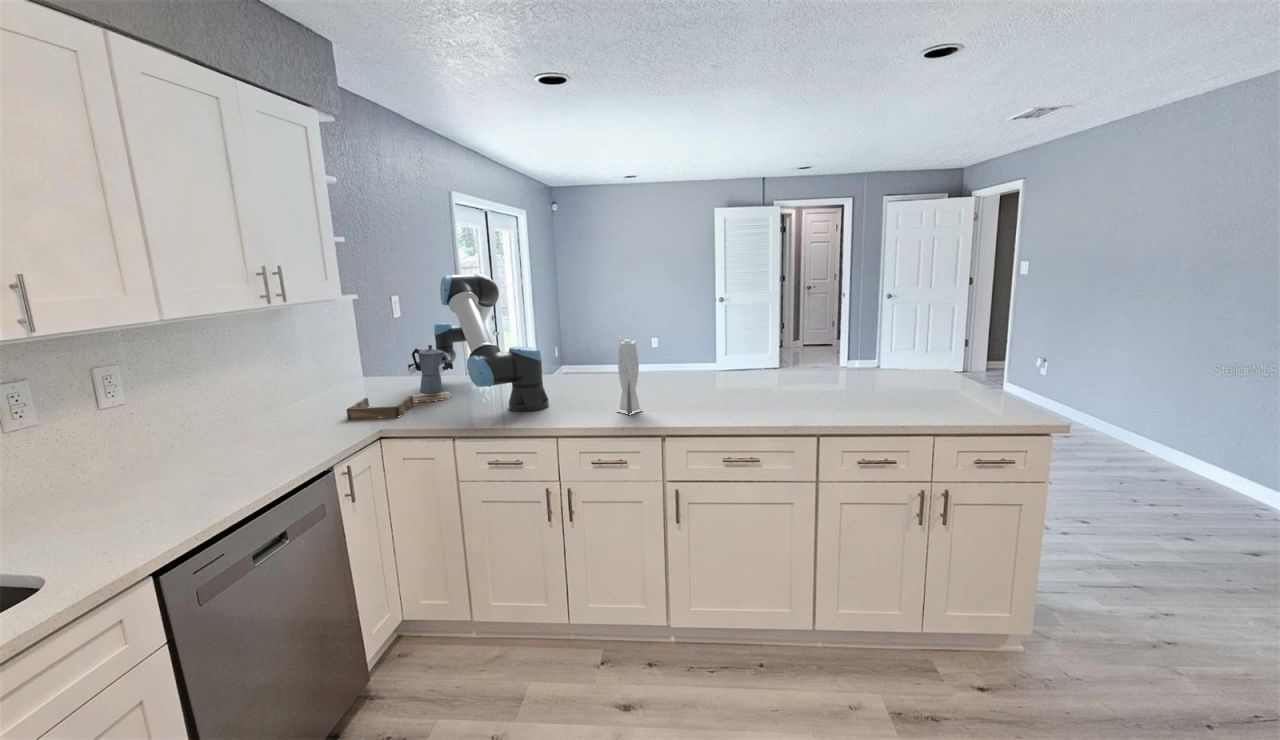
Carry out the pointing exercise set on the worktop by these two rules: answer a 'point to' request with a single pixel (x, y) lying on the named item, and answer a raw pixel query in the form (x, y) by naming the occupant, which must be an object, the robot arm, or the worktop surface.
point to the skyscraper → (628, 375)
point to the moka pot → (429, 369)
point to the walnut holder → (377, 409)
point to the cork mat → (431, 396)
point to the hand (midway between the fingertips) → (425, 370)
